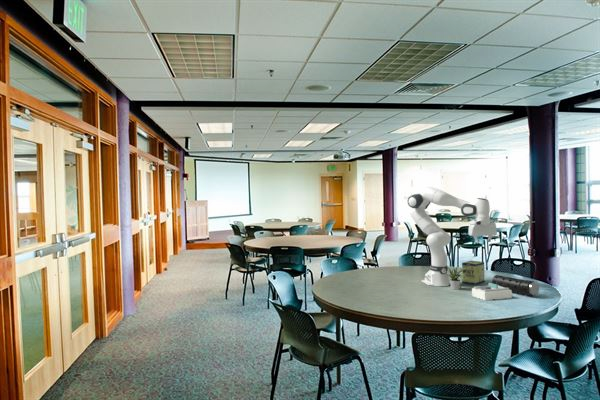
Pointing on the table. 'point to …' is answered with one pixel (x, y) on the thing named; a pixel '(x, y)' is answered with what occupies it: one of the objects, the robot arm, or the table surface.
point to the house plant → (455, 279)
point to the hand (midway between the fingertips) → (483, 242)
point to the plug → (485, 287)
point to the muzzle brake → (517, 285)
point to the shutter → (494, 286)
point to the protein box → (473, 272)
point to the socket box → (491, 293)
